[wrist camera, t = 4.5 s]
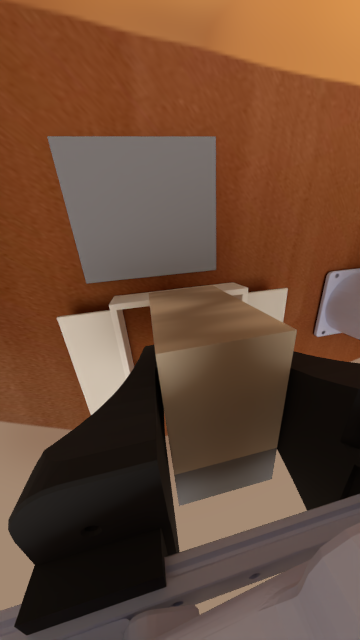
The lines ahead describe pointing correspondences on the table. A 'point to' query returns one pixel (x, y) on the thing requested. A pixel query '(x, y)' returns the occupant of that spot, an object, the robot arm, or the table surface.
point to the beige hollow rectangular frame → (113, 344)
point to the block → (219, 387)
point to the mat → (139, 203)
